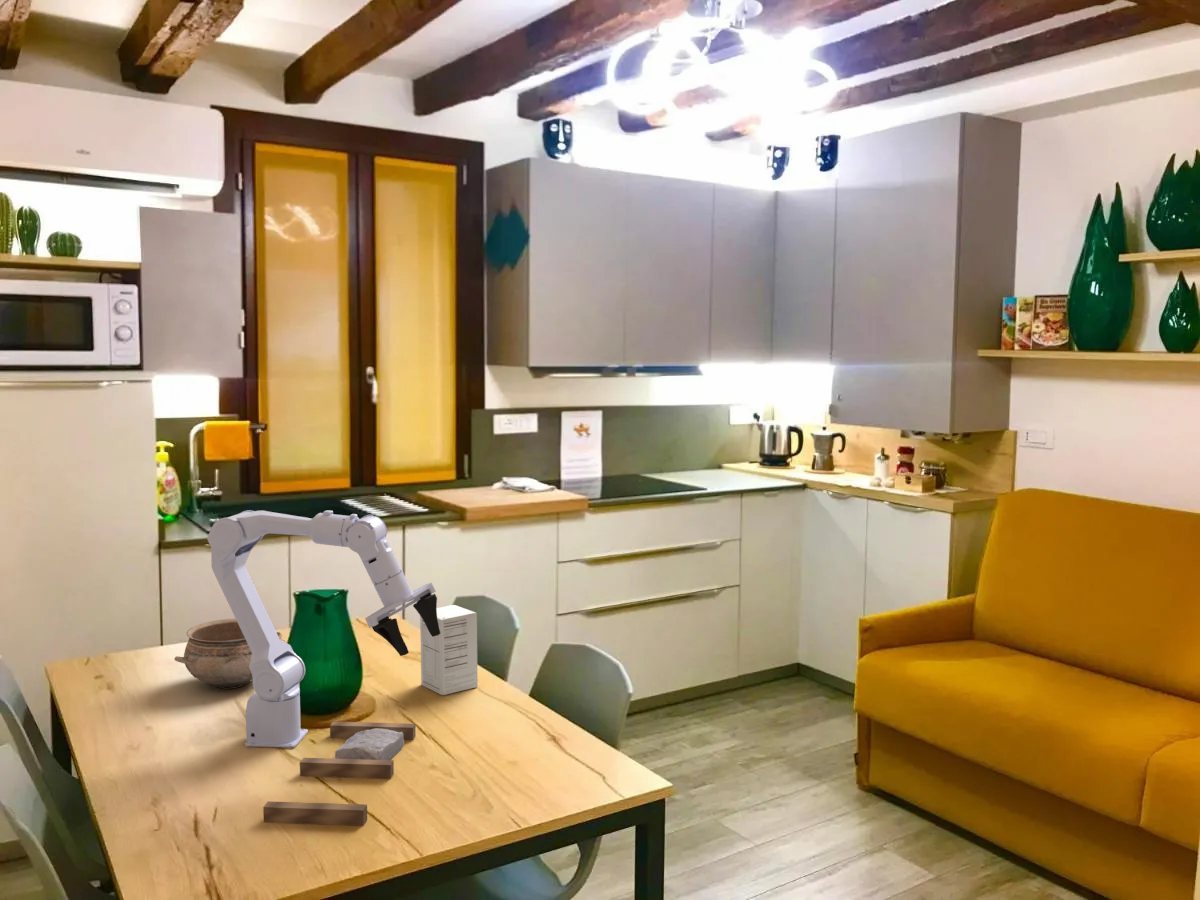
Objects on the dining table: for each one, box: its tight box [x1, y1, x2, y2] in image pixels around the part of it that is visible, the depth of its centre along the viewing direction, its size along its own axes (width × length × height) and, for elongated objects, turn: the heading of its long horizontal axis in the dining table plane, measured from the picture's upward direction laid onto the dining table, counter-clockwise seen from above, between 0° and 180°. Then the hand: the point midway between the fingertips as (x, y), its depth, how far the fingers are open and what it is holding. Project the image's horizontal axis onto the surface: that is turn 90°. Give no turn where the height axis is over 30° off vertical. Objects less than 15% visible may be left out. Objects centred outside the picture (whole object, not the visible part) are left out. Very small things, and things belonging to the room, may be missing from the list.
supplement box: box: [419, 604, 479, 696], centre depth 223 cm, size 10×9×17 cm
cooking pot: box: [174, 618, 283, 690], centre depth 223 cm, size 25×19×12 cm
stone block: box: [334, 728, 405, 760], centre depth 186 cm, size 12×5×10 cm
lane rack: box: [262, 721, 416, 826], centre depth 178 cm, size 16×36×2 cm, turn 177°
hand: (420, 644), depth 187 cm, fingers open, 7 cm apart
